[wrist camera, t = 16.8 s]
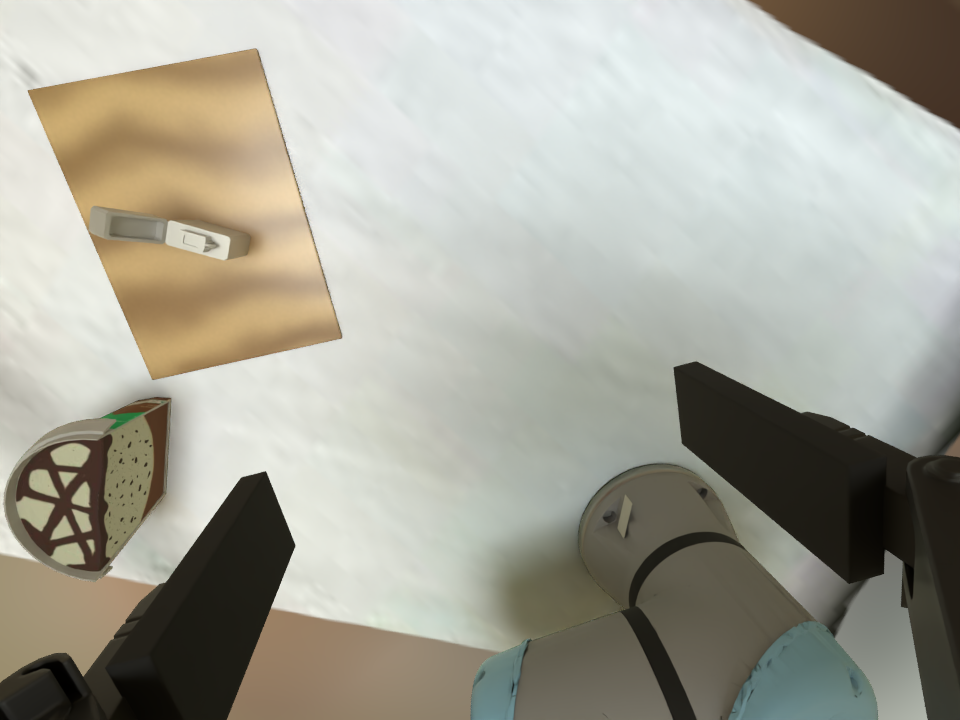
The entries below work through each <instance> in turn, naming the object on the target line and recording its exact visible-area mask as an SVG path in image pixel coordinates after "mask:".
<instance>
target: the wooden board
mask: <svg viewBox="0 0 960 720" xmlns="http://www.w3.org/2000/svg"><path fill="white" fill-rule="evenodd" d="M28 93H29V95H30V98H31V100H32V102H33V104H34V107H35V109H36V111H37V114H38V116H39V118H40V121H41V123H42V125H43V128H44V130H45V132H46V135H47V137H48V139H49V142H50V144H51V146H52V148H53V151H54V153H55V155H56V158H57V160H58V162H59V165H60V167H61V169H62V172H63V174H64V176H65V179H66V181H67V183H68V186H69V188H70V190H71V192H72V195H73V197H74V199H75V202H76V204H77V206H78V209H79V211H80V213H81V216H82V218H83V220H84V223H85V225H86V227H87V230H88V232H89V234H90V236H91V239H92V241H93V243H94V246H95V248H96V250H97V253H98V255H99V257H100V260H101V262H102V264H103V267H104V269H105V271H106V274H107V276H108V278H109V281H110V283H111V285H112V287H113V290H114V292H115V294H116V297H117V299H118V301H119V304H120V306H121V308H122V311H123V313H124V315H125V318H126V320H127V322H128V325H129V327H130V329H131V331H132V334H133V336H134V338H135V341H136V343H137V345H138V348H139V350H140V352H141V355H142V357H143V359H144V362H145V364H146V366H147V369H148V371H149V373H150V375H151V378H152V380H155V379H159V378H164V377H168V376H173V375H177V374H182V373H186V372H191V371H195V370H200V369H205V368H209V367H214V366H218V365H223V364H227V363H232V362H236V361H241V360H245V359H250V358H254V357H259V356H264V355H268V354H273V353H277V352H282V351H286V350H291V349H295V348H300V347H304V346H309V345H314V344H318V343H323V342H327V341H332V340H336V339H341V338H342V335H341V332H340V329H339V325H338V322H337V319H336V315H335V312H334V308H333V305H332V302H331V298H330V295H329V291H328V288H327V285H326V281H325V278H324V274H323V271H322V268H321V264H320V261H319V258H318V254H317V251H316V247H315V244H314V241H313V237H312V234H311V230H310V227H309V224H308V220H307V217H306V213H305V210H304V207H303V203H302V200H301V197H300V193H299V190H298V186H297V183H296V180H295V176H294V173H293V169H292V166H291V163H290V159H289V156H288V152H287V149H286V146H285V142H284V139H283V136H282V132H281V129H280V125H279V122H278V119H277V115H276V112H275V108H274V105H273V102H272V98H271V95H270V92H269V88H268V85H267V81H266V78H265V75H264V71H263V68H262V64H261V61H260V58H259V54H258V51H257V49H250V50H245V51H239V52H234V53H229V54H223V55H218V56H212V57H207V58H201V59H196V60H190V61H185V62H180V63H174V64H169V65H163V66H158V67H152V68H147V69H142V70H136V71H131V72H125V73H120V74H114V75H109V76H104V77H98V78H93V79H87V80H82V81H76V82H71V83H65V84H60V85H55V86H49V87H44V88H38V89H33V90H28ZM93 206H100V207H107V208H114V209H120V210H127V211H134V212H141V213H148V214H153V215H156V216H158V217H161V218H164V219H166V220H167V221H168V222H169V221H170V220H200V221H204V222H207V223H211V224H214V225H218V226H221V227H225V228H228V229H232V230H235V231H239V232H242V233H246V234H249V235H250V237H251V238H250V244H249V249H248V254H247V255H246V256H242V257H238V258H234V259H229V260H225V261H224V260H220V259H217V258H213V257H209V256H206V255H202V254H198V253H195V252H191V251H187V250H184V249H180V248H176V247H173V246H169V245H167V244H166V242H165V243H163V244H155V243H143V242H131V241H120V240H108V239H104V238H102V237H99V236H97V235H94V234H92V233H91V232H90V231H89V221H90V211H91V208H92V207H93Z"/></svg>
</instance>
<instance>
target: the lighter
mask: <svg viewBox="0 0 960 720" xmlns="http://www.w3.org/2000/svg"><path fill="white" fill-rule="evenodd" d="M89 231H90V232H91V233H92V234H94V235H97V236H99V237H102V238H104V239H108V240H120V241H131V242H143V243H155V244H163V243H165V242H166V244H167V245H169V246H173V247H176V248H180V249H184V250H187V251H191V252H195V253H198V254H202V255H206V256H209V257H213V258H217V259H220V260H224V261H225V260H229V259H234V258H238V257H242V256H246V255H247V254H248V249H249V244H250V238H251V237H250V235H249V234H246V233H242V232H239V231H235V230H232V229H228V228H225V227H221V226H218V225H214V224H211V223H207V222H204V221H200V220H170V221H169V222H168V221H167V220H166V219H164V218H161V217H158V216H156V215H153V214H148V213H141V212H134V211H127V210H120V209H114V208H107V207H100V206H93V207H92V208H91V211H90V221H89Z"/></svg>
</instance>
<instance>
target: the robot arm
mask: <svg viewBox="0 0 960 720" xmlns="http://www.w3.org/2000/svg"><path fill="white" fill-rule="evenodd" d="M674 376H675V385H676V393H677V402H678V411H679V420H680V429H681V438H682V444H683V445H684V446H686V447H687V448H688V449H689V450H690V451H692V452H693V453H694V454H695V455H696V456H698V457H699V458H700V459H701V460H702V461H703V462H705V463H706V464H707V465H708V466H709V467H711V468H712V469H713V470H714V471H715V472H717V473H718V474H719V475H720V476H721V477H723V478H724V479H725V480H726V481H727V482H728V483H730V484H731V485H732V486H733V487H734V488H736V489H737V490H738V491H739V492H740V493H742V494H743V495H744V496H745V497H746V498H747V499H749V500H750V501H751V502H752V503H753V504H755V505H756V506H757V507H758V508H759V509H761V510H762V511H763V512H764V513H765V514H767V515H768V516H769V517H770V518H771V519H772V520H774V521H775V522H776V523H777V524H778V525H780V526H781V527H782V528H783V529H784V530H786V531H787V532H788V533H789V534H790V535H792V536H793V537H794V538H795V539H796V540H797V541H799V542H800V543H801V544H802V545H803V546H805V547H806V548H807V549H808V550H809V551H811V552H812V553H813V554H814V555H815V556H817V557H818V558H819V559H820V560H821V561H822V562H824V563H825V564H826V565H827V566H828V567H830V568H831V569H832V570H833V571H834V572H836V573H837V574H838V575H839V576H840V577H841V578H843V579H844V580H845V581H846V582H847V583H849V584H850V583H854V582H857V581H861V580H864V579H868V578H872V577H875V576H878V575H882V574H884V550H885V549H886V550H887V551H889V552H890V553H892V554H893V555H895V556H896V557H897V558H899V559H900V560H902V561H903V571H902V596H901V607H904V608H908V611H909V617H910V623H911V628H912V634H913V639H914V645H915V651H916V657H917V662H918V668H919V673H920V679H921V685H922V690H923V696H924V702H925V707H926V713H927V718H928V720H960V458H959V457H953V456H946V455H929V456H923V457H918V458H916V457H914V456H912V455H910V454H908V453H906V452H904V451H902V450H899V449H897V448H895V447H893V446H891V445H889V444H887V443H885V442H882V441H880V440H878V439H876V438H874V437H872V436H870V435H868V436H866V435H865V433H863V432H861V431H859V430H857V429H855V428H850V426H848V425H846V424H844V423H842V422H840V421H838V420H836V419H834V418H831V417H828V416H823V415H819V414H815V413H811V412H804V413H799V412H797V411H795V410H793V409H791V408H789V407H787V406H785V405H783V404H781V403H779V402H777V401H775V400H773V399H771V398H769V397H767V396H765V395H763V394H761V393H759V392H757V391H755V390H753V389H751V388H749V387H747V386H745V385H743V384H741V383H739V382H737V381H735V380H733V379H731V378H729V377H727V376H725V375H723V374H721V373H719V372H717V371H715V370H713V369H711V368H709V367H707V366H705V365H703V364H701V363H699V362H697V361H696V362H692V363H688V364H684V365H680V366H676V367H674ZM578 543H579V550H580V554H581V556H582V559H583V561H584V563H585V565H586V567H587V569H588V571H589V573H590V575H591V576H592V578H593V579H594V580H595V581H596V583H597V584H598V585H599V586H600V587H601V588H602V589H603V590H604V591H605V592H607V593H608V594H609V595H610V596H611V597H612V598H613V599H614V600H615V601H617V602H618V603H619V604H620V605H621V606H622V607H623V608H624V609H626V610H623V611H619V612H616V613H613V614H610V615H607V616H604V617H601V618H598V619H595V620H592V621H589V622H586V623H583V624H580V625H577V626H574V627H571V628H568V629H565V630H562V631H559V632H556V633H553V634H551V635H548V636H545V637H542V638H539V639H536V640H533V641H532V640H531V639H526V640H524V641H523V642H522V644H521V645H519V646H516V647H514V648H511V649H509V650H506V651H504V652H501V653H499V654H497V655H494V656H492V657H490V658H488V659H487V660H486V661H485V662H484V663H483V664H482V665H481V666H480V668H479V670H478V672H477V674H476V676H475V680H474V684H473V690H472V699H471V720H878V710H877V702H876V697H875V695H874V692H873V689H872V686H871V684H870V683H869V681H868V679H867V677H866V676H865V674H864V673H863V672H862V671H861V669H859V667H858V666H857V665H856V664H855V662H854V661H853V660H852V659H851V658H850V657H849V655H848V654H847V653H846V652H845V651H844V650H843V648H842V647H841V646H840V645H839V644H838V643H837V641H836V640H835V639H834V636H833V635H832V633H831V632H830V631H829V630H828V629H827V628H826V627H825V626H824V625H823V624H821V623H818V622H817V621H816V620H815V619H814V618H813V617H812V616H811V615H810V614H809V613H808V611H807V610H806V609H805V608H804V607H803V606H802V605H801V604H800V603H799V602H798V601H797V600H796V599H795V598H794V597H793V596H792V595H791V594H790V593H789V592H788V591H787V590H786V589H785V588H784V587H783V586H782V585H781V584H780V583H779V582H778V581H777V580H776V579H775V578H774V577H773V576H772V575H771V574H770V573H769V572H768V571H767V570H766V569H765V568H764V567H763V566H762V565H761V564H760V563H759V562H758V561H757V560H756V559H755V558H754V557H753V556H752V555H751V554H750V553H749V552H748V551H747V550H746V549H745V548H744V547H743V546H742V545H741V544H740V543H739V540H738V538H737V536H736V534H735V531H734V529H733V527H732V524H731V522H730V520H729V518H728V515H727V513H726V511H725V508H724V506H723V504H722V502H721V501H720V499H719V498H718V496H717V495H716V493H715V492H714V491H713V490H712V488H711V487H710V486H708V485H707V484H706V483H705V482H704V481H703V480H702V479H701V478H700V477H699V476H697V475H696V474H694V473H693V472H691V471H689V470H687V469H684V468H682V467H678V466H674V465H666V464H655V465H647V466H642V467H638V468H635V469H632V470H630V471H627V472H625V473H623V474H621V475H619V476H618V477H616V478H614V479H613V480H611V481H610V482H609V483H607V484H606V485H605V486H604V487H603V488H602V489H601V490H600V491H599V492H598V493H597V494H596V495H595V496H594V497H593V499H592V500H591V502H590V503H589V505H588V506H587V508H586V510H585V512H584V514H583V517H582V519H581V522H580V527H579V533H578ZM294 548H295V543H294V541H293V538H292V536H291V533H290V530H289V528H288V525H287V523H286V520H285V518H284V515H283V513H282V510H281V508H280V505H279V503H278V500H277V498H276V495H275V493H274V490H273V488H272V485H271V483H270V480H269V478H268V475H267V473H266V471H265V472H261V473H257V474H254V475H250V476H246V477H242V478H241V479H240V480H239V481H238V483H237V484H236V486H235V487H234V488H233V490H232V491H231V492H230V494H229V495H228V497H227V498H226V499H225V501H224V502H223V504H222V505H221V506H220V508H219V509H218V511H217V512H216V513H215V515H214V516H213V518H212V519H211V520H210V522H209V523H208V525H207V526H206V527H205V529H204V530H203V532H202V533H201V534H200V536H199V537H198V539H197V540H196V541H195V543H194V544H193V546H192V547H191V548H190V550H189V551H188V553H187V554H186V555H185V557H184V558H183V559H182V561H181V562H180V564H179V565H178V566H177V568H176V569H175V571H174V572H173V573H172V575H171V576H170V578H169V579H168V580H167V582H166V583H162V584H159V585H158V586H157V587H156V588H155V589H154V590H153V591H151V592H150V593H149V594H148V595H147V596H146V597H145V598H144V599H142V600H141V601H140V602H139V603H138V605H137V606H136V607H135V609H134V610H133V611H132V613H131V614H130V615H129V617H128V618H127V619H126V623H125V624H123V625H122V626H121V627H120V629H119V630H118V631H117V633H116V634H115V635H114V639H113V640H111V641H110V642H109V643H108V645H107V646H106V647H105V649H104V650H103V651H102V653H101V654H100V655H99V657H98V658H97V659H96V661H95V662H94V663H93V665H92V666H91V668H90V669H89V670H88V671H87V673H86V674H85V675H84V677H83V676H82V674H81V673H80V671H79V670H78V668H77V666H76V664H75V663H74V661H73V660H72V658H71V657H70V656H69V655H68V654H67V653H55V654H51V655H48V656H46V657H43V658H40V659H38V660H36V661H34V662H32V663H30V664H28V665H26V666H24V667H22V668H21V669H19V670H18V671H16V672H15V673H13V674H12V675H11V676H9V677H7V678H6V679H5V680H3V681H2V682H1V683H0V720H227V718H228V715H229V713H230V710H231V708H232V705H233V703H234V700H235V697H236V695H237V692H238V690H239V687H240V685H241V682H242V680H243V677H244V675H245V672H246V670H247V667H248V665H249V662H250V659H251V657H252V654H253V652H254V649H255V647H256V644H257V642H258V639H259V637H260V634H261V632H262V629H263V627H264V624H265V621H266V619H267V616H268V614H269V611H270V609H271V606H272V604H273V601H274V599H275V596H276V594H277V591H278V589H279V586H280V584H281V581H282V578H283V576H284V573H285V571H286V568H287V566H288V563H289V561H290V558H291V556H292V553H293V551H294Z"/></svg>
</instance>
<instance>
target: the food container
mask: <svg viewBox="0 0 960 720" xmlns="http://www.w3.org/2000/svg"><path fill="white" fill-rule="evenodd" d="M170 411H171V398H160V397H155V398H149V399H144V400H138V401H136V402H134V403H132V404H129V405H127V406H125V407H123V408H121V409H119V410H117V411H114V412H112V413H110V414H108V415H106V416H104V417H102V418H100V419H86V420H81V421H76V422H71V423H68V424H66V425H63V426H60V427H58V428H56V429H54V430H52V431H50V432H49V433H47V434H45V435H44V436H43V437H42V438H40V439H39V440H38V441H37V442H36V443H35V444H34V445H33V446H32V447H31V448H30V449H29V450H28V451H27V452H26V453H25V454H24V455H23V456H22V457H21V459H20V460H19V461H18V462H17V463H16V465H15V467H14V469H13V471H12V473H11V474H10V477H9V479H8V481H7V484H6V488H5V491H4V503H3V504H4V511H5V517H6V520H7V522H8V525H9V528H10V530H11V531H12V533H13V535H14V537H15V538H16V540H17V541H18V542H19V543H20V545H21V546H22V547H23V548H24V549H25V550H26V551H27V552H28V553H29V554H30V555H31V556H32V557H34V558H35V559H36V560H38V561H39V562H41V563H42V564H43V565H45V566H47V567H49V568H51V569H52V570H54V571H56V572H59V573H61V574H64V575H66V576H69V577H73V578H76V579H80V580H85V581H92V582H96V581H97V580H98V579H99V578H102V577H103V576H104V575H106V574H107V573H108V572H109V571H110V570H111V569H112V568H113V566H109V565H110V564H111V563H112V561H113V560H114V559H115V557H116V556H117V555H118V554H119V552H120V551H121V550H122V549H123V547H124V546H125V545H126V544H127V542H128V541H129V540H130V539H131V537H132V536H133V535H134V533H135V532H136V531H137V530H138V528H139V527H140V526H141V525H142V523H143V522H144V521H145V520H146V518H147V517H148V516H149V515H150V513H151V512H152V511H153V509H154V508H155V507H156V506H157V504H158V503H159V502H160V501H161V499H162V498H163V497H164V496H165V494H166V483H167V465H168V447H169V429H170Z"/></svg>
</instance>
